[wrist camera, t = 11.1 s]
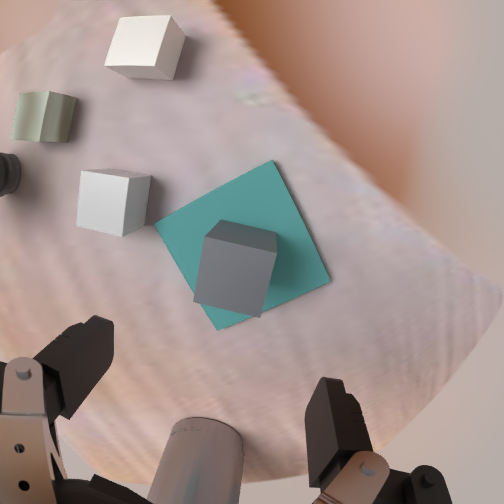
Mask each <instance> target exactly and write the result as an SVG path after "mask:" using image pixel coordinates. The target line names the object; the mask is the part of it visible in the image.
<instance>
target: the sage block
mask: <svg viewBox="0 0 504 504" xmlns="http://www.w3.org/2000/svg"><path fill="white" fill-rule="evenodd" d="M76 100H77V98H75V97H71V96H67V95H63V94H59V93H55V92H51V91H45V92H31V93H21V94H19V97H18V101H17V106H16V111H15V116H14V121H13V126H12V132H11V139H10V140H24V141H40V142H68V138H69V133H70V127H71V122H72V117H73V113H74V108H75V104H76Z"/></svg>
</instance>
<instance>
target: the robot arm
mask: <svg viewBox="0 0 504 504" xmlns="http://www.w3.org/2000/svg"><path fill="white" fill-rule="evenodd" d="M113 356H114V324H113V322H112V321H110V320H107V319H105V318H102V317H99V316H97V315H94V316H92V317H91V318H90V319H89V320H88V321H87V322H86V323H84V324H83V323H81V322H80V323H78V324H75V325H72V326H70V327H68V328H67V329H66V330H65V331H64V332H62V334H61V335H59V336H58V337H57V338H55V340H53V341H52V342H51V343H50V344H49V345H47V346H46V347H45V348H44V349H43V350H42V351H41V352H39V353H38V354H37V355H36V356H35V357H34V358H33V359H32V358H28V357H19V358H15V359H13V360H11V361H10V362H9V363H8V364H7V363H4V362H0V504H238V503H239V495H240V487H241V479H242V471H243V462H244V453H243V452H242V447H243V443H242V439H241V437H240V436H239V434H238V433H237V432H236V431H235V430H233V429H232V428H231V427H229V426H227V425H225V424H223V423H220V422H218V421H214V420H211V419H205V418H188V419H184V420H181V421H179V422H178V423H176V424H175V425H174V426H173V429H172V431H171V434H170V437H169V439H168V442H167V445H166V447H165V450H164V452H163V455H162V458H161V461H160V463H159V466H158V469H157V472H156V474H155V477H154V480H153V483H152V485H151V488H150V491H149V494H148V497H147V499H145V498H143V497H141V496H140V495H138V494H137V493H135V492H133V491H132V490H130V489H128V488H127V487H124V486H121V485H119V484H117V483H114V482H112V481H109V480H107V479H105V478H102V477H100V476H98V475H96V474H94V476H93V477H92V479H91V481H88V480H81V479H68V478H67V474H66V471H65V469H64V465H63V461H62V456H61V451H60V446H59V440H58V434H57V427H56V422H55V419H56V418H57V417H58V416H59V415H61V416H63V417H65V418H67V419H68V420H70V418H71V417H72V416H73V414H74V413H75V412H76V410H77V409H78V408H79V406H80V405H81V404H82V402H83V401H84V400H85V398H86V397H87V396H88V394H89V393H90V392H91V391H92V389H93V388H94V387H95V385H96V384H97V383H98V381H99V380H100V379H101V378H102V376H103V375H104V374H105V372H106V371H107V370H108V369H109V367H110V365H111V363H112V360H113ZM364 422H365V421H364V417H363V415H362V411H361V407H360V404H359V402H358V401H357V400H356V399H355V397H354V396H353V395H352V394H348V393H346V392H345V388H344V384H343V381H342V380H340V379H334V378H327V377H322V378H321V379H320V380H319V382H318V385H317V387H316V389H315V391H314V393H313V395H312V397H311V399H310V401H309V403H308V406H307V408H306V412H305V430H306V443H307V456H308V471H309V487H315V488H320V489H321V494H320V495H319V497H318V498H317V499H316V500H315V501H314V502H313V503H312V504H452V501H451V497H450V495H449V491H448V488H447V486H446V483H445V480H444V477H443V475H442V474H441V473H440V472H439V471H438V470H437V469H435V468H434V467H432V466H428V465H421V466H418V467H417V468H415V469H414V470H413V471H412V472H411V473H406V472H401V471H397V470H393V469H390V468H389V465H388V463H387V461H386V460H385V459H384V458H383V457H382V456H381V455H379V454H377V453H375V452H373V448H372V445H371V441H370V438H369V434H368V431H367V427H366V424H365V423H364Z"/></svg>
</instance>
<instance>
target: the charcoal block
mask: <svg viewBox="0 0 504 504" xmlns="http://www.w3.org/2000/svg"><path fill="white" fill-rule="evenodd" d="M276 255H277V239H276V232H273V231H269V230H265V229H261V228H256V227H252V226H248V225H243V224H239V223H234V222H230V221H226V220H220V221H219V222H218V223H217V224H216V225H215V226H214V227H213V228H212V229H211V230H210V231H209V232H208V233H207V234H206V235H205V236H204V241H203V247H202V252H201V258H200V264H199V270H198V276H197V282H196V288H195V294H194V300H193V302H196V303H200V304H204V305H208V306H212V307H216V308H220V309H224V310H228V311H233V312H237V313H241V314H246V315H250V316H254V317H259V318H260V317H261V313H262V309H263V305H264V302H265V298H266V294H267V290H268V286H269V283H270V279H271V275H272V271H273V267H274V263H275V259H276Z"/></svg>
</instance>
